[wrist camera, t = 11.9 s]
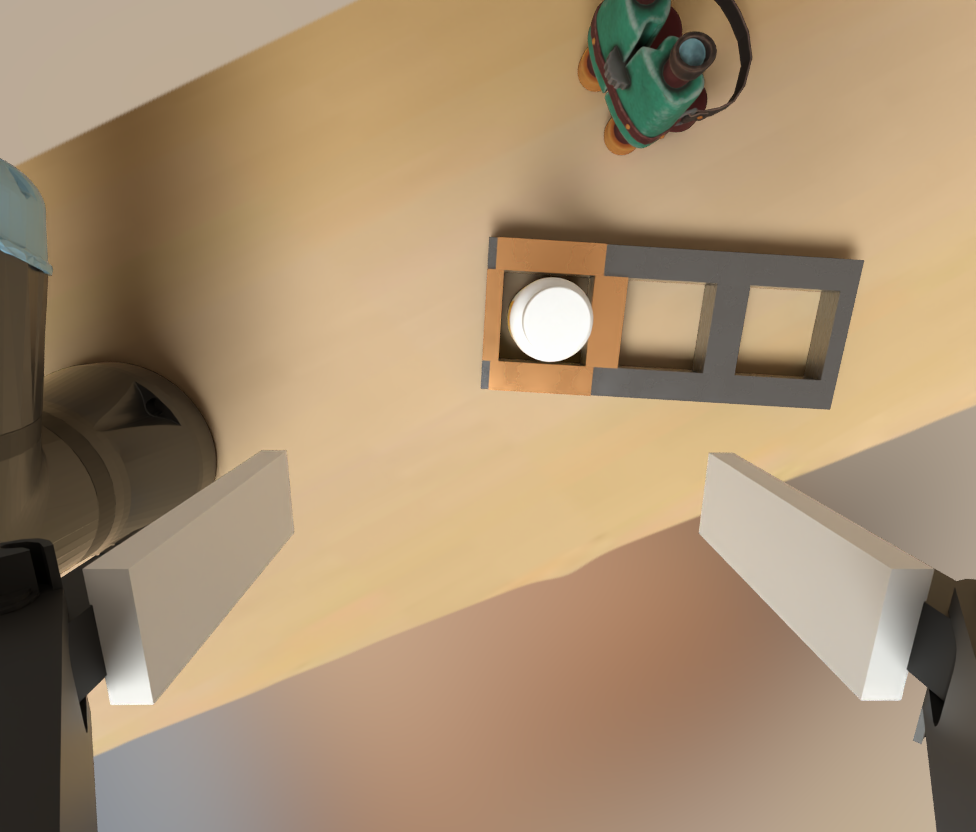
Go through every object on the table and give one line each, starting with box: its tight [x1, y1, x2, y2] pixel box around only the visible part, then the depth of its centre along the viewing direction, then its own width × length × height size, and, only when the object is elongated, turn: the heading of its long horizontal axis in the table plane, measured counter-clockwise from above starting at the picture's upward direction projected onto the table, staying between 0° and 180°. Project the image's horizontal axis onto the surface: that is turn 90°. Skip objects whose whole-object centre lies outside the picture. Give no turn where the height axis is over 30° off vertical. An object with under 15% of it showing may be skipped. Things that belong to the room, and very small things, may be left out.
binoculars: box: [578, 0, 752, 155], centre depth 28 cm, size 9×11×10 cm
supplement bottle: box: [507, 277, 593, 362], centre depth 32 cm, size 5×5×10 cm
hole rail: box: [481, 237, 864, 410], centre depth 35 cm, size 27×11×2 cm, turn 87°
